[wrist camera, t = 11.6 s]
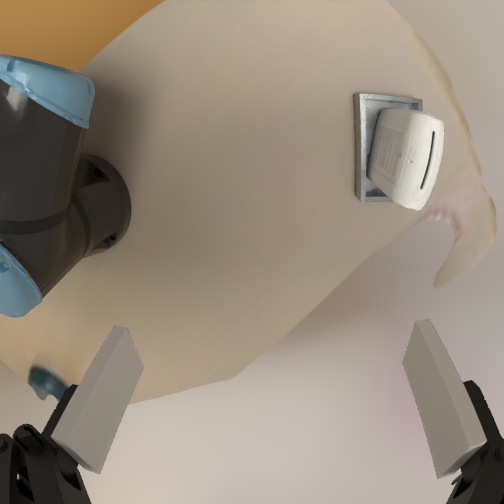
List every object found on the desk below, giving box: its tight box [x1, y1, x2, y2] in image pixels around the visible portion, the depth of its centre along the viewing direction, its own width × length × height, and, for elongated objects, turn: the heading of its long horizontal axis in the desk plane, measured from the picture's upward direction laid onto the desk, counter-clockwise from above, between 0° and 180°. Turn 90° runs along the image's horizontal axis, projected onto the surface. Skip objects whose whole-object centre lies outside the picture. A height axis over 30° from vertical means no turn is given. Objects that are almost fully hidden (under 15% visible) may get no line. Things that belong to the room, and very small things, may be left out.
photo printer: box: [367, 108, 444, 210], centre depth 29 cm, size 10×4×12 cm, turn 172°
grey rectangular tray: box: [353, 93, 422, 202], centre depth 33 cm, size 8×13×3 cm, turn 5°
